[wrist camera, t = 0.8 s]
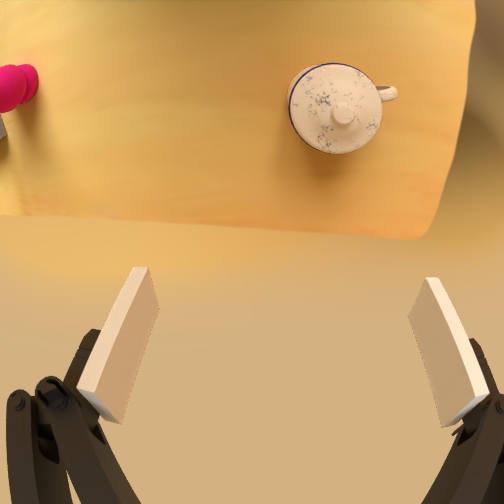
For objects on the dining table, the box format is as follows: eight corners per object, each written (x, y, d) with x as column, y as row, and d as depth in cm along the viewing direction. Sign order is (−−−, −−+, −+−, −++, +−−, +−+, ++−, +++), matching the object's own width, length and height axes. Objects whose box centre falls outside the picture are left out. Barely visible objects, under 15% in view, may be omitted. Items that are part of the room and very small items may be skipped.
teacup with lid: (298, 142, 36) (308, 175, 27) (274, 74, 31) (275, 78, 22) (388, 120, 33) (428, 146, 24) (370, 51, 28) (409, 50, 19)
